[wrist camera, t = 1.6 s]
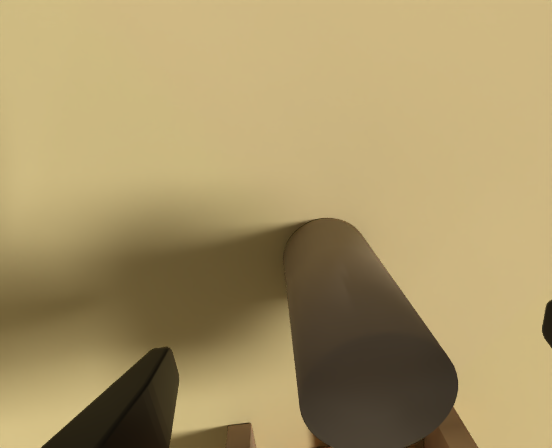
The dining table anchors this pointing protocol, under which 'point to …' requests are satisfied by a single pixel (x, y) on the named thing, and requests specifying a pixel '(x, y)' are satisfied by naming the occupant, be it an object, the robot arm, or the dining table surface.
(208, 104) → the dining table surface
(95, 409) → the robot arm
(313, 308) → the tethered block
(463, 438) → the dark brown open box
